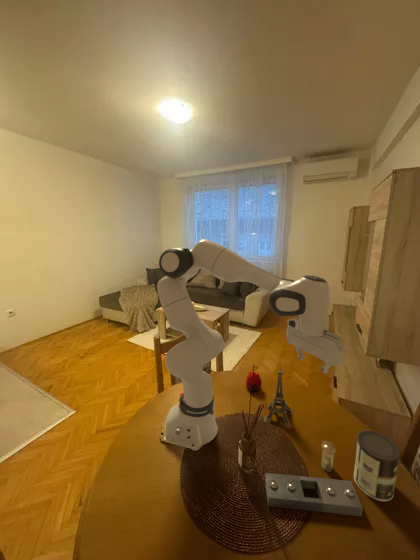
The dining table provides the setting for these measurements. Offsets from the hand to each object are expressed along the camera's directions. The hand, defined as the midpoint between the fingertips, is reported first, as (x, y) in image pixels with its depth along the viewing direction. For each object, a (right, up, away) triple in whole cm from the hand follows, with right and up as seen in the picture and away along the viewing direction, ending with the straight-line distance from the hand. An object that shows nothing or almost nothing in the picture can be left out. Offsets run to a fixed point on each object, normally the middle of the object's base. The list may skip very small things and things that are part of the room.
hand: (312, 365), depth 79 cm
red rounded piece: (-12, -26, +39) cm, 48 cm away
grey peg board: (-5, -35, -10) cm, 36 cm away
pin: (+4, -33, -1) cm, 33 cm away
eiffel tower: (-5, -29, +21) cm, 36 cm away
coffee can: (+16, -34, -6) cm, 38 cm away
